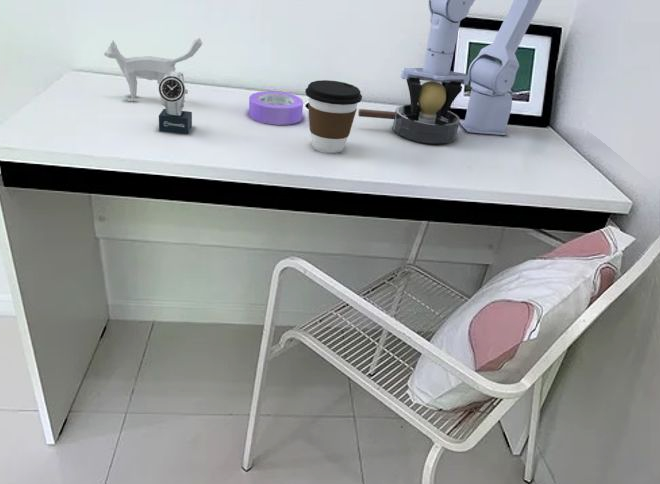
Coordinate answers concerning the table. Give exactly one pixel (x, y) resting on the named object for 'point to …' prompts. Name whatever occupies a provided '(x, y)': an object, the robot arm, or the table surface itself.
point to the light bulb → (431, 101)
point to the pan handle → (376, 114)
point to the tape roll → (275, 108)
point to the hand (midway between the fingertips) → (427, 114)
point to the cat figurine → (146, 65)
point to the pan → (425, 126)
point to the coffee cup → (331, 113)
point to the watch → (174, 104)
